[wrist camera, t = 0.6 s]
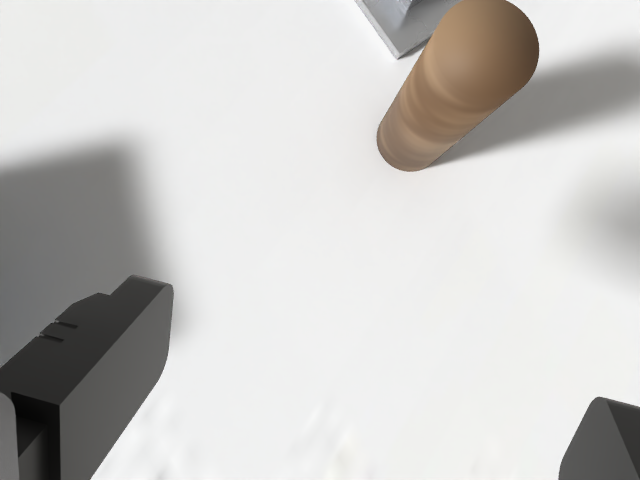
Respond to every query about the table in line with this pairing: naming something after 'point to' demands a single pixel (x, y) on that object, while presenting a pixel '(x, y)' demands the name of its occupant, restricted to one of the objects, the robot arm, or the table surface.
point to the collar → (405, 20)
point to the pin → (458, 81)
